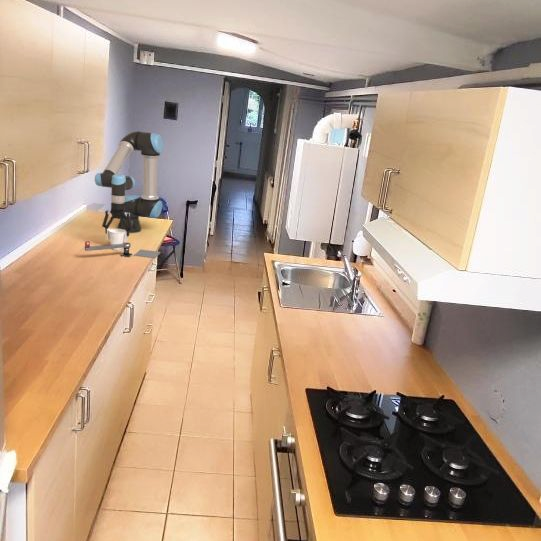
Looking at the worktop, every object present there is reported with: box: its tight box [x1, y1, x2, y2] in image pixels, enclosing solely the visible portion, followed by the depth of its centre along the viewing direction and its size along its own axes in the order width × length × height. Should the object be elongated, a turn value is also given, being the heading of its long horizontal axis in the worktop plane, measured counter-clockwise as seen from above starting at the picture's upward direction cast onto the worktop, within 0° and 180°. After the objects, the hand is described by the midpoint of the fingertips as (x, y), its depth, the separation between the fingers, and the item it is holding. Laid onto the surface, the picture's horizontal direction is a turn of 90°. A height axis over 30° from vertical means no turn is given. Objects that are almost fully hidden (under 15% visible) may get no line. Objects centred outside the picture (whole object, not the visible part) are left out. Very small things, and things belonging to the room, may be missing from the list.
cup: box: [109, 228, 126, 251], centre depth 317 cm, size 10×10×11 cm
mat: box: [133, 249, 161, 259], centre depth 315 cm, size 12×12×1 cm
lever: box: [84, 240, 132, 252], centre depth 299 cm, size 4×26×5 cm, turn 130°
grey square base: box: [119, 248, 133, 258], centre depth 307 cm, size 5×5×5 cm
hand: (117, 240), depth 317 cm, fingers closed on cup, 10 cm apart
